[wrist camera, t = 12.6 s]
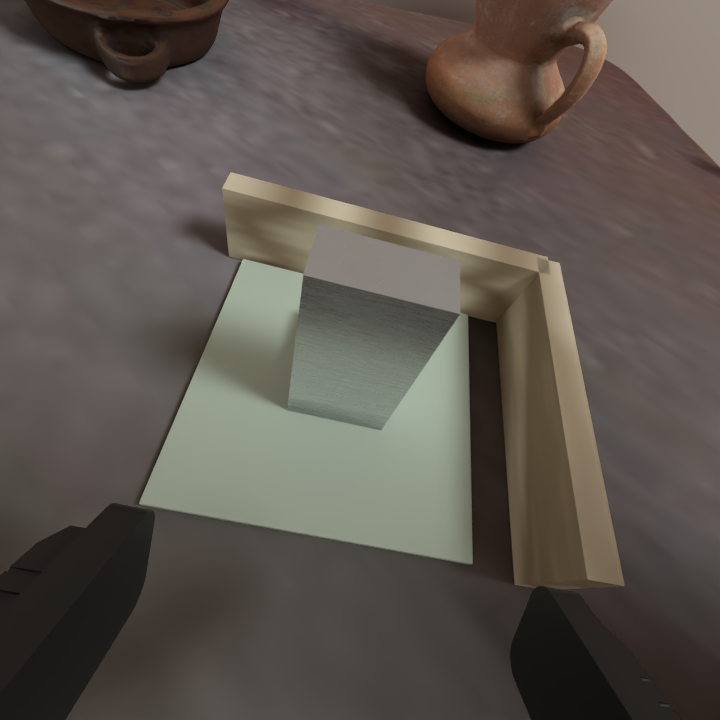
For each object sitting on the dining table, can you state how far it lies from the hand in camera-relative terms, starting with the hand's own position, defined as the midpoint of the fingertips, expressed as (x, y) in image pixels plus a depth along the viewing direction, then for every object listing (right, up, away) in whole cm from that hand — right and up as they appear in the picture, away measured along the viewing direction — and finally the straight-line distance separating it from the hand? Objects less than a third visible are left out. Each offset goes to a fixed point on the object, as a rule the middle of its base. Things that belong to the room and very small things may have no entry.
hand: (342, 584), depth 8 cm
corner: (+1, +3, +14) cm, 15 cm away
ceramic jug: (+14, +30, +34) cm, 47 cm away
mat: (-1, +3, +14) cm, 14 cm away
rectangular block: (-1, +4, +14) cm, 14 cm away
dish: (-21, +35, +29) cm, 50 cm away
